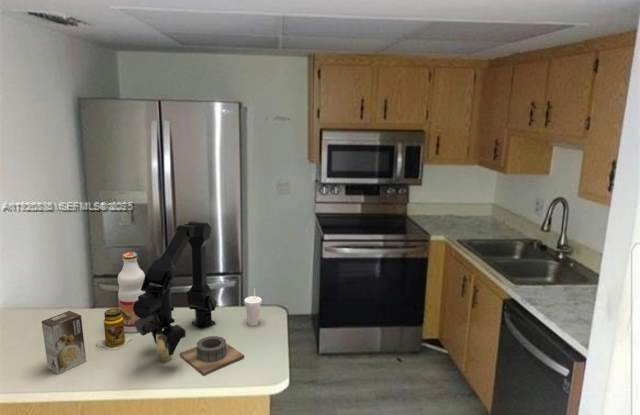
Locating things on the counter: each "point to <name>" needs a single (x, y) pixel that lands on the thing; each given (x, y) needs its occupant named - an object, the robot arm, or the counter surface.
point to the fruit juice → (129, 290)
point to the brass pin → (162, 349)
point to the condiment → (113, 330)
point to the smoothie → (253, 309)
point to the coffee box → (64, 341)
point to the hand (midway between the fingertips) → (164, 349)
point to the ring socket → (211, 355)
